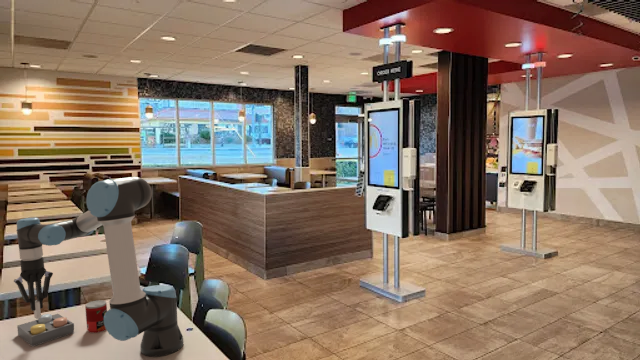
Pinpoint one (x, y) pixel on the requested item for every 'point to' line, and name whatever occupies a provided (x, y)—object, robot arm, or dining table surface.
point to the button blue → (45, 318)
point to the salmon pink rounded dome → (60, 322)
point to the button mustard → (37, 329)
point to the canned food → (95, 316)
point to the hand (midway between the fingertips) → (37, 317)
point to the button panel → (49, 334)
